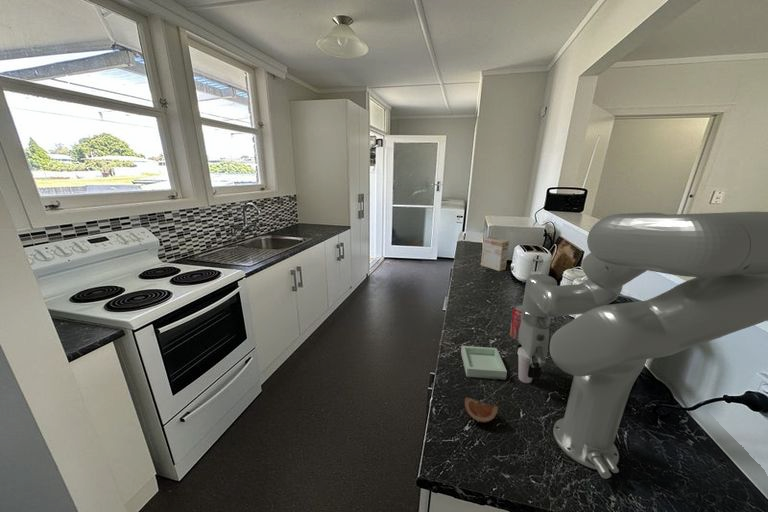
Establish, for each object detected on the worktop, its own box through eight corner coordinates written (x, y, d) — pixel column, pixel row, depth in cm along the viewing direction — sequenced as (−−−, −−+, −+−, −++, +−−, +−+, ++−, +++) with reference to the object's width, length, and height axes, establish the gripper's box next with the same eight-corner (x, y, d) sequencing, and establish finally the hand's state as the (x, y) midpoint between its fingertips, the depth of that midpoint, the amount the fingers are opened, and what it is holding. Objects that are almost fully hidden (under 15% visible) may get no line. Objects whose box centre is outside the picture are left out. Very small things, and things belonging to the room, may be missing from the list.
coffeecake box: (505, 269, 182) (509, 241, 176) (499, 271, 179) (502, 242, 173) (487, 263, 194) (490, 236, 189) (480, 265, 191) (483, 238, 185)
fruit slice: (497, 412, 74) (499, 397, 73) (495, 433, 68) (498, 417, 67) (465, 402, 77) (466, 388, 76) (461, 421, 71) (463, 406, 70)
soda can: (532, 344, 103) (537, 313, 99) (511, 342, 104) (516, 311, 101) (526, 334, 110) (531, 304, 106) (507, 332, 111) (511, 303, 107)
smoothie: (523, 388, 82) (530, 348, 78) (509, 374, 88) (514, 336, 84) (541, 384, 84) (549, 344, 80) (525, 370, 90) (532, 332, 86)
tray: (505, 379, 86) (507, 371, 85) (466, 376, 87) (467, 368, 86) (495, 355, 97) (496, 348, 96) (460, 352, 98) (461, 345, 98)
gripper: (564, 334, 71) (553, 388, 76) (537, 303, 87) (529, 349, 92) (533, 332, 72) (524, 385, 77) (512, 302, 88) (505, 348, 93)
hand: (527, 365), depth 85 cm, fingers open, 9 cm apart
